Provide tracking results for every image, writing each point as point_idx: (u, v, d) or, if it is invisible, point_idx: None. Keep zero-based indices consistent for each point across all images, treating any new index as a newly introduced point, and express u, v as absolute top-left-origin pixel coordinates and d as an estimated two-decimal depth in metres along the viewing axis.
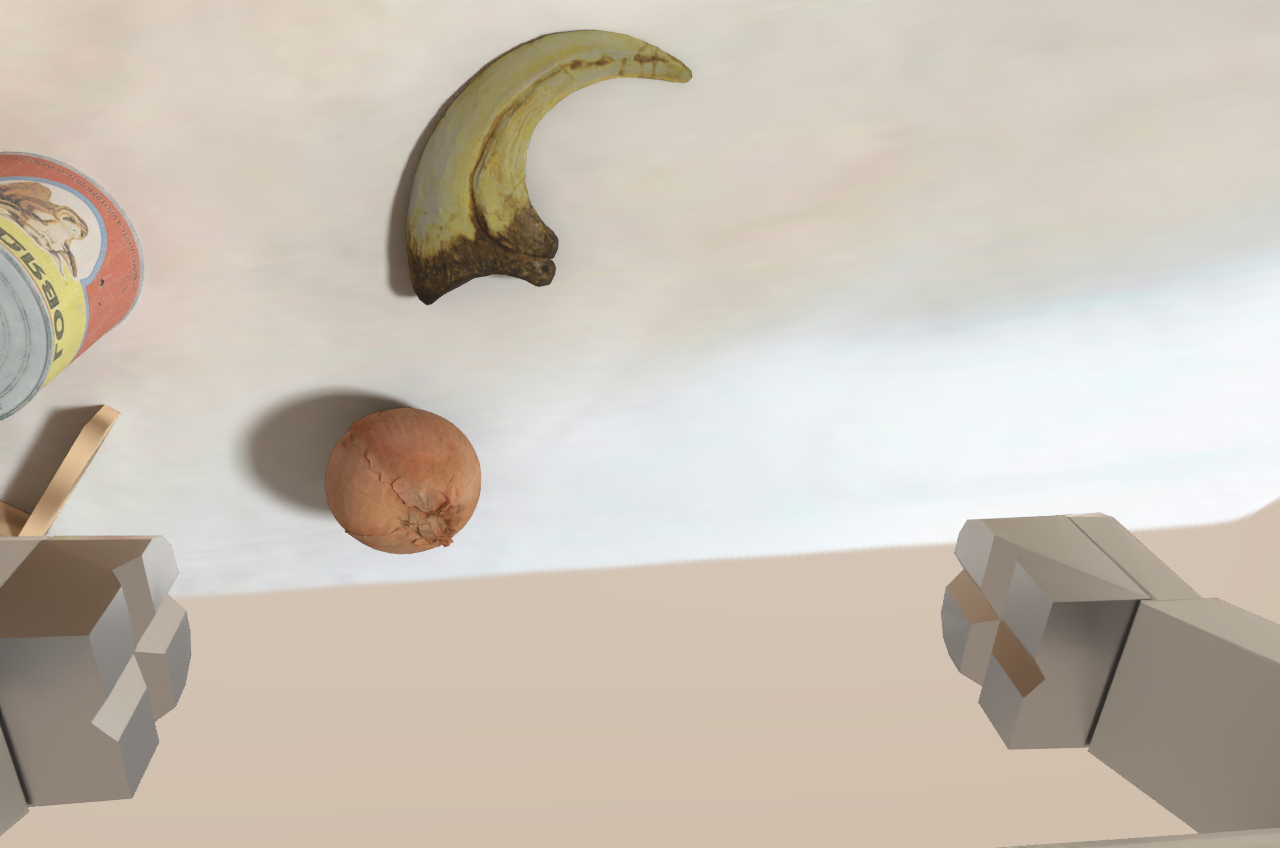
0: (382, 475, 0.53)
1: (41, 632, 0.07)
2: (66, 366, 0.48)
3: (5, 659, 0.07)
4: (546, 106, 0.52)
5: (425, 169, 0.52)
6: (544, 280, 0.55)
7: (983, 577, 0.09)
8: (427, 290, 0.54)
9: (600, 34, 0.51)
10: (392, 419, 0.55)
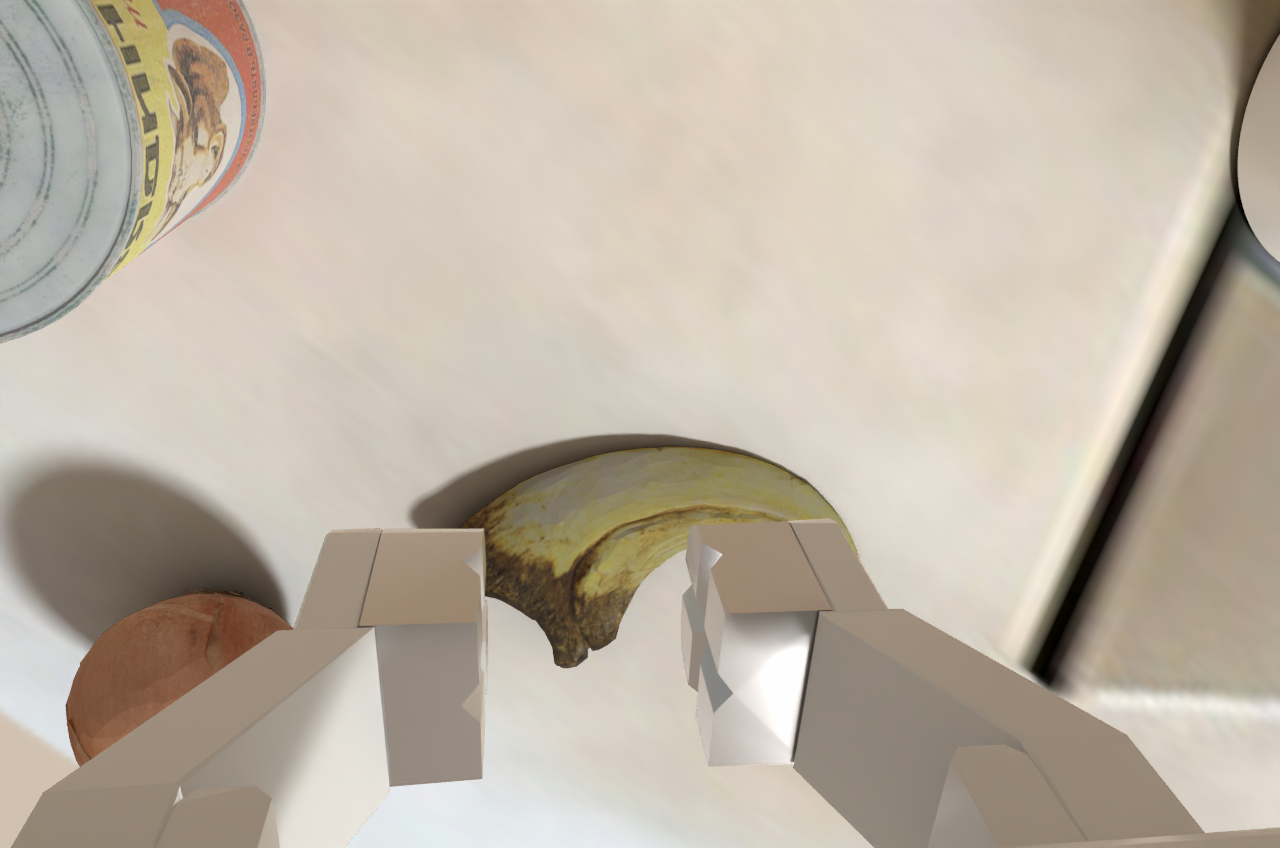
0: None
1: (428, 619, 0.08)
2: None
3: (396, 645, 0.07)
4: None
5: (590, 472, 0.39)
6: (567, 666, 0.41)
7: (696, 586, 0.09)
8: None
9: (842, 529, 0.42)
10: None
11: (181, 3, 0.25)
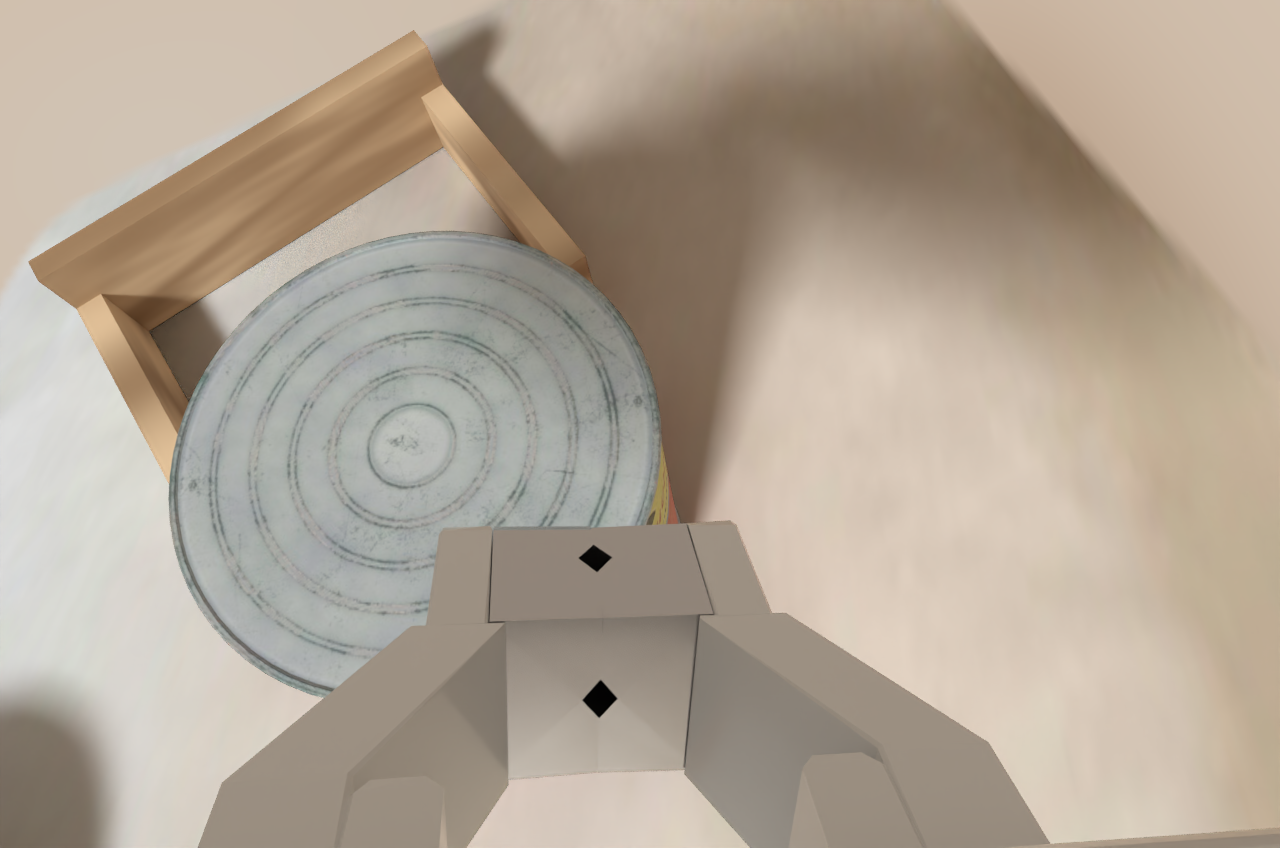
0: None
1: (555, 615, 0.08)
2: None
3: (524, 640, 0.08)
4: None
5: None
6: None
7: None
8: None
9: None
10: None
11: None
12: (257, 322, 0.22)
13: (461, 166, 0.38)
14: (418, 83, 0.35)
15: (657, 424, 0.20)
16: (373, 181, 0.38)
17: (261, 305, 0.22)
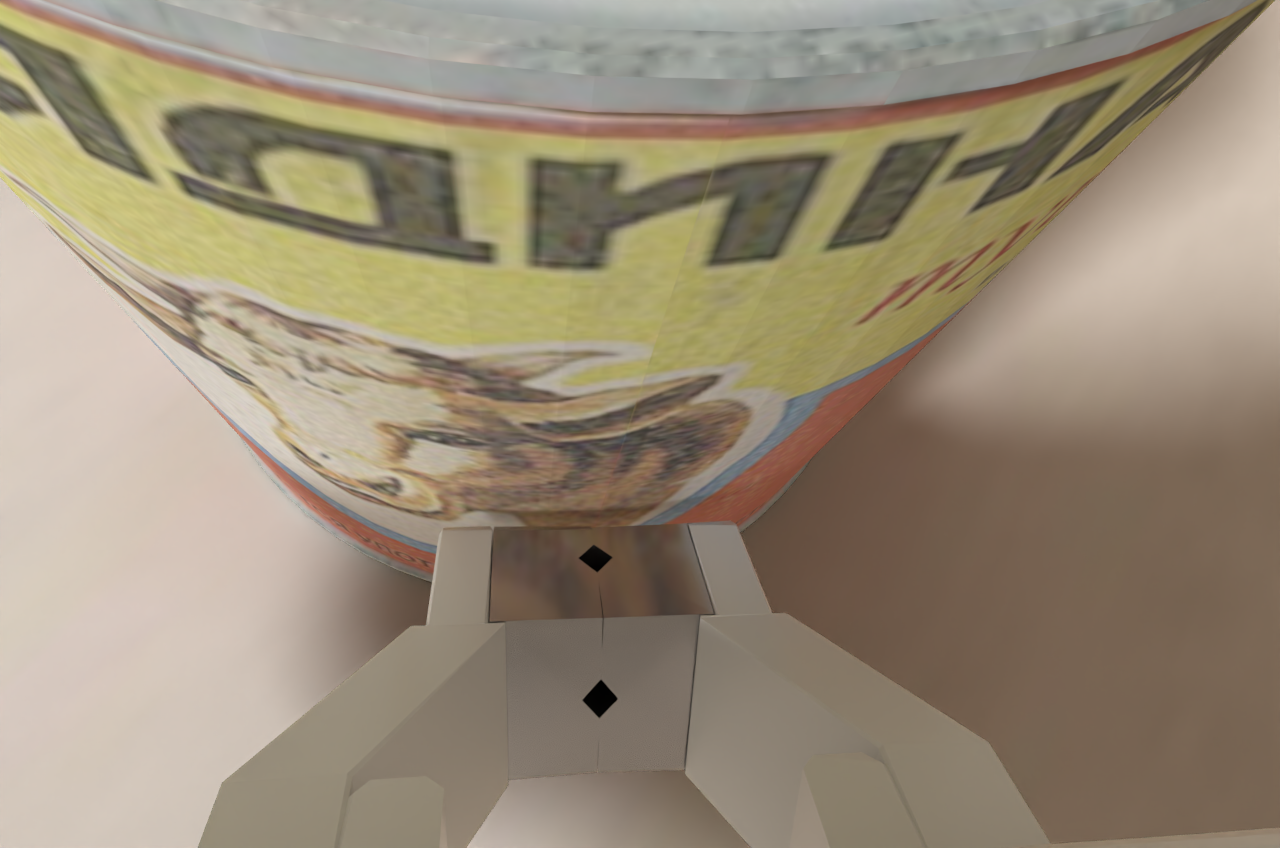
0: None
1: (555, 615, 0.08)
2: None
3: (524, 640, 0.08)
4: None
5: None
6: None
7: None
8: None
9: None
10: None
11: (784, 451, 0.09)
12: None
13: None
14: None
15: None
16: None
17: None
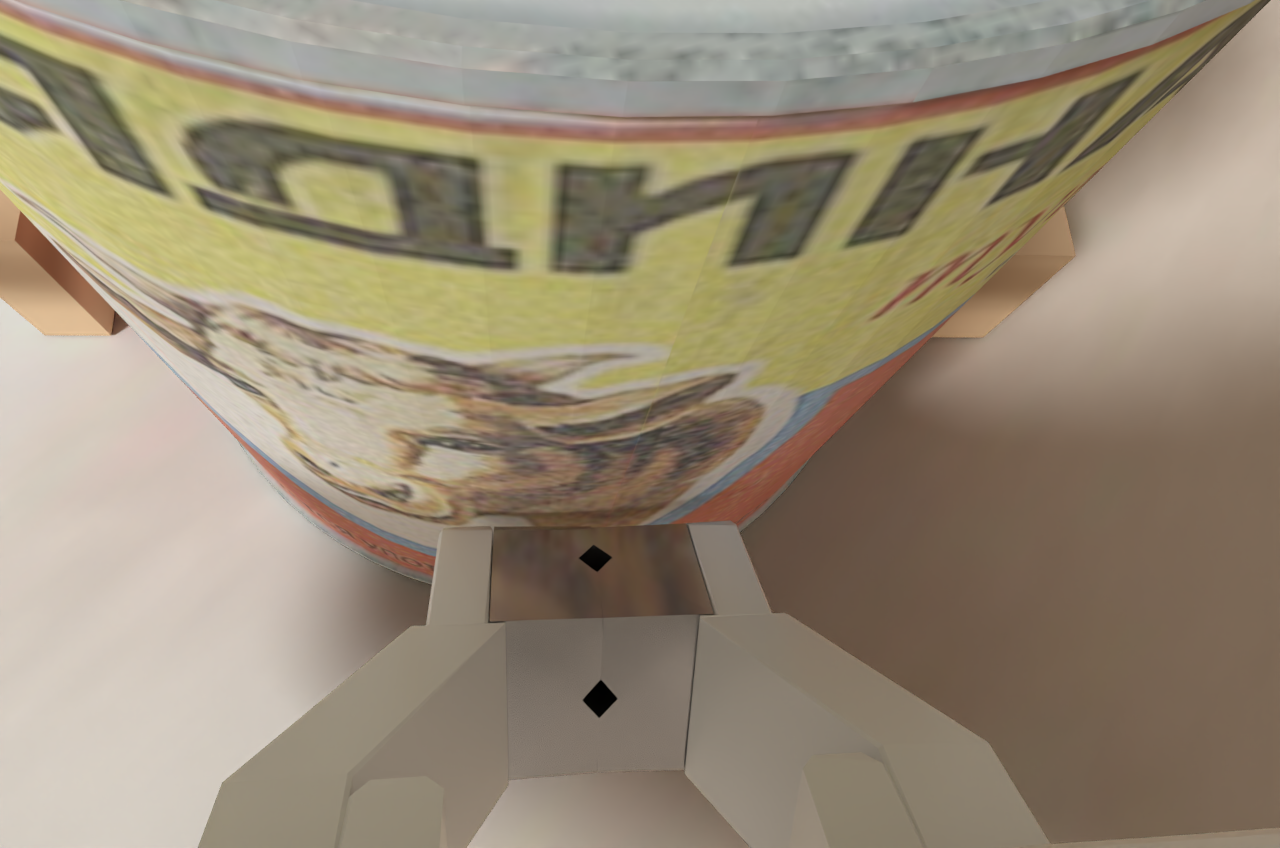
0: None
1: (554, 615, 0.08)
2: None
3: (524, 640, 0.08)
4: None
5: None
6: None
7: None
8: None
9: None
10: None
11: (792, 446, 0.09)
12: None
13: None
14: None
15: None
16: None
17: None
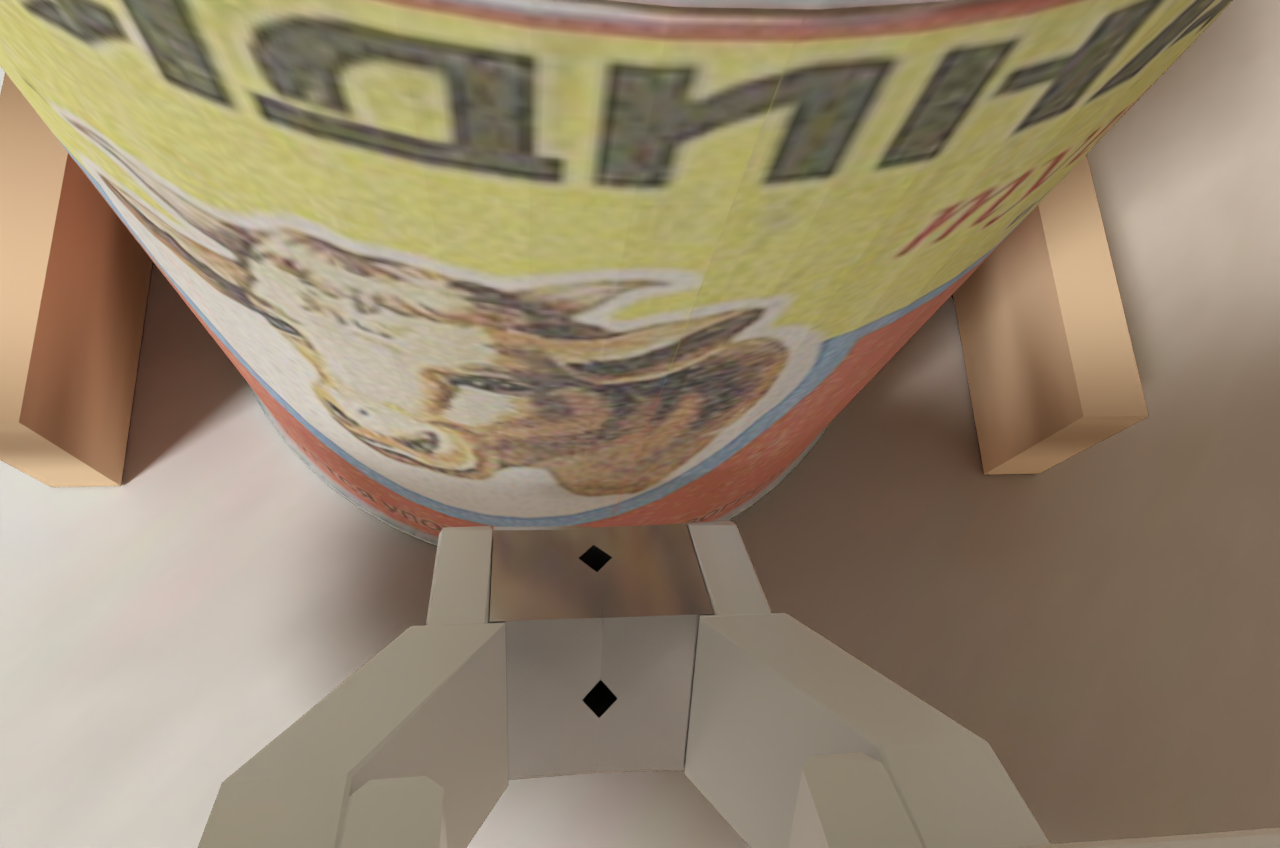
0: None
1: (554, 615, 0.08)
2: None
3: (524, 640, 0.08)
4: None
5: None
6: None
7: None
8: None
9: None
10: None
11: (812, 403, 0.10)
12: None
13: None
14: None
15: None
16: None
17: None
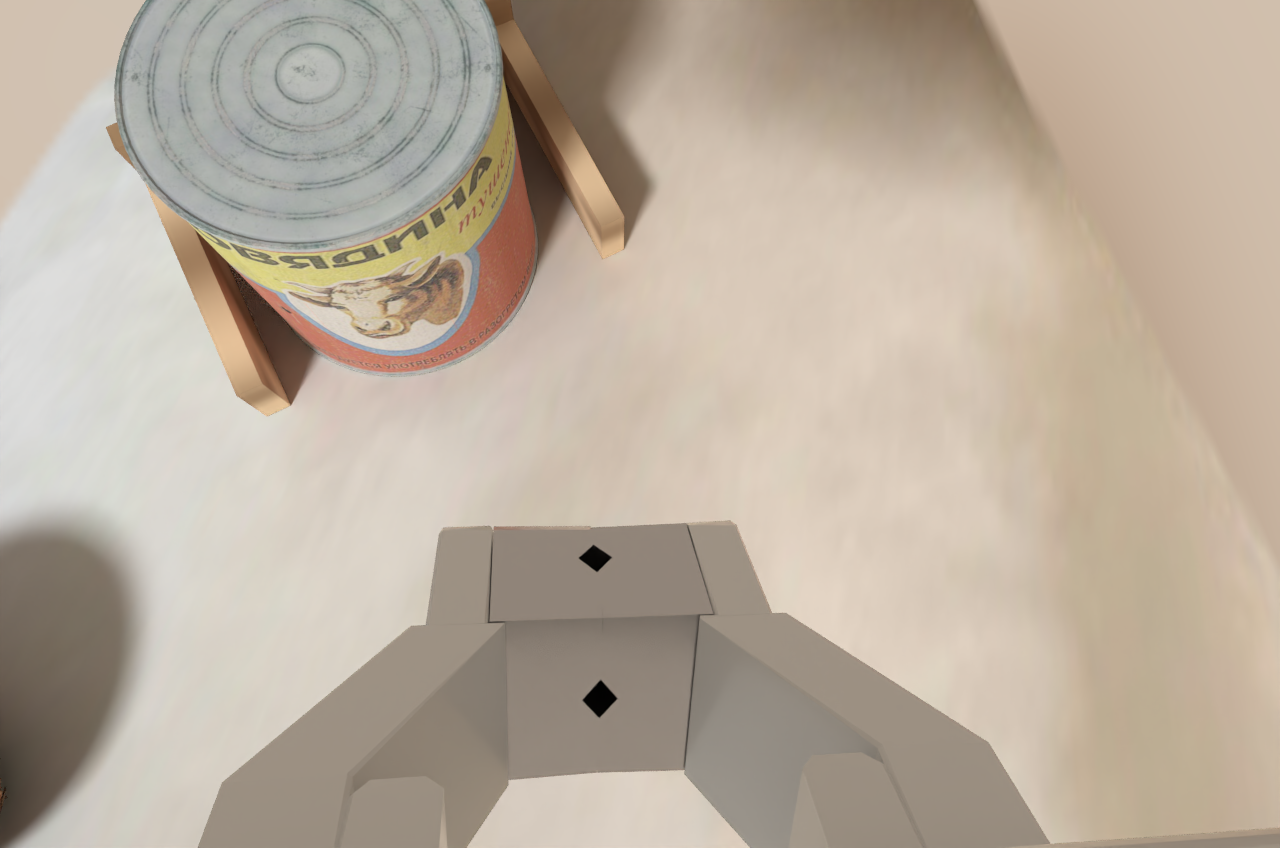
0: None
1: (555, 615, 0.08)
2: None
3: (524, 640, 0.08)
4: None
5: None
6: None
7: None
8: None
9: None
10: None
11: (486, 266, 0.32)
12: None
13: (516, 98, 0.40)
14: (492, 16, 0.37)
15: (498, 86, 0.27)
16: None
17: None
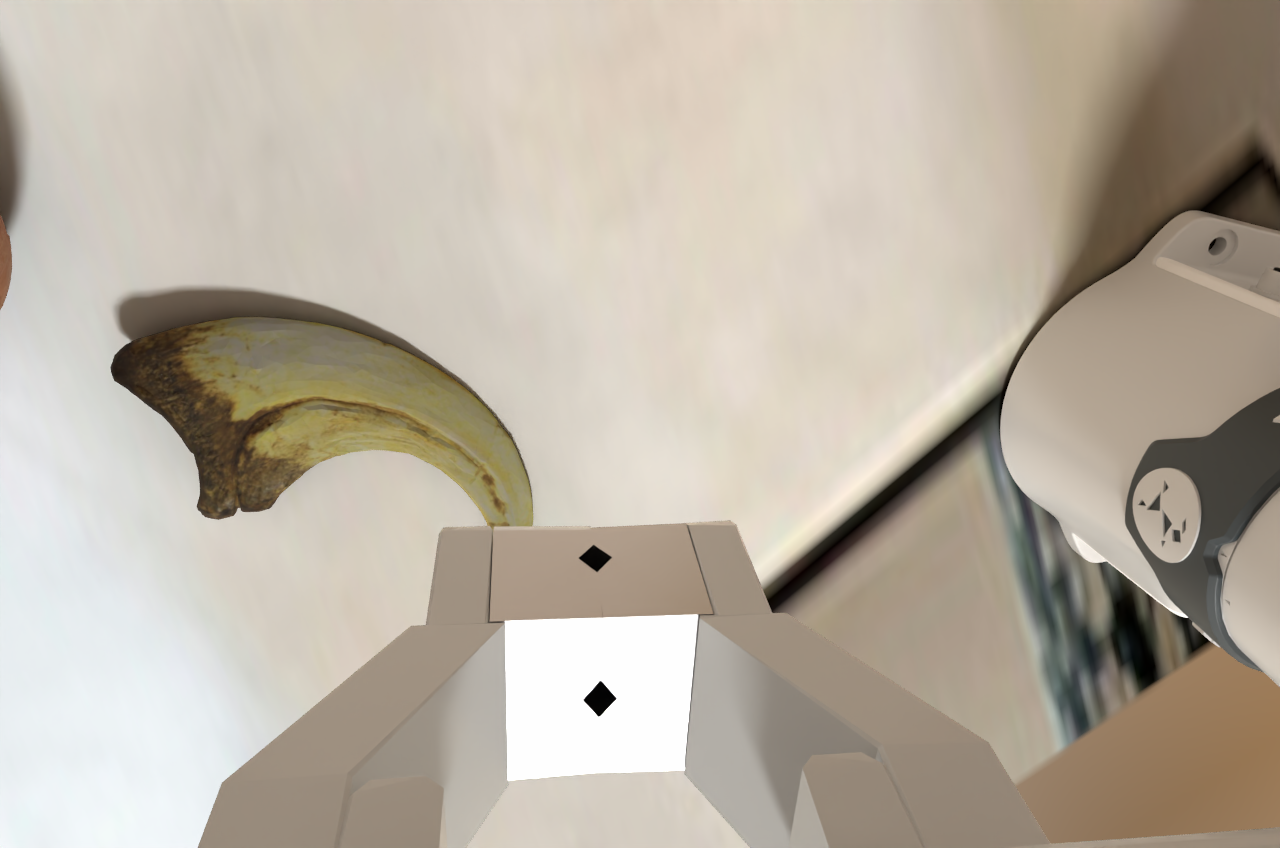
0: None
1: (555, 615, 0.08)
2: None
3: (524, 640, 0.08)
4: (432, 461, 0.42)
5: (308, 336, 0.39)
6: (208, 515, 0.40)
7: None
8: (133, 372, 0.37)
9: (527, 494, 0.44)
10: None
11: None
12: None
13: None
14: None
15: None
16: None
17: None
